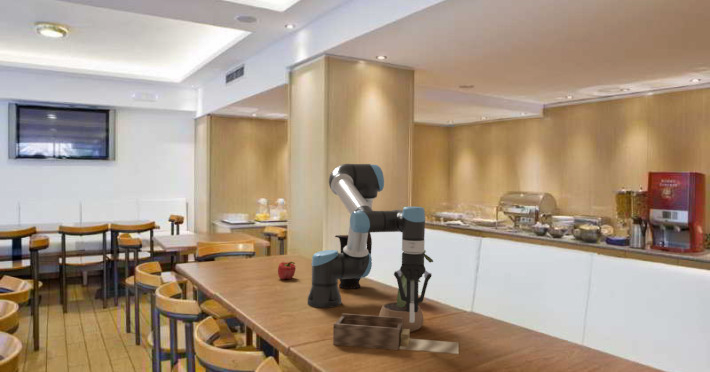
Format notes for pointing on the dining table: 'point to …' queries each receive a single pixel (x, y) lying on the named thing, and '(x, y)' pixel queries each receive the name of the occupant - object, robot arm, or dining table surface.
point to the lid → (427, 344)
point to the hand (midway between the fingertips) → (412, 321)
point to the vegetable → (286, 270)
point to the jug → (343, 241)
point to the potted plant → (404, 307)
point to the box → (368, 331)
